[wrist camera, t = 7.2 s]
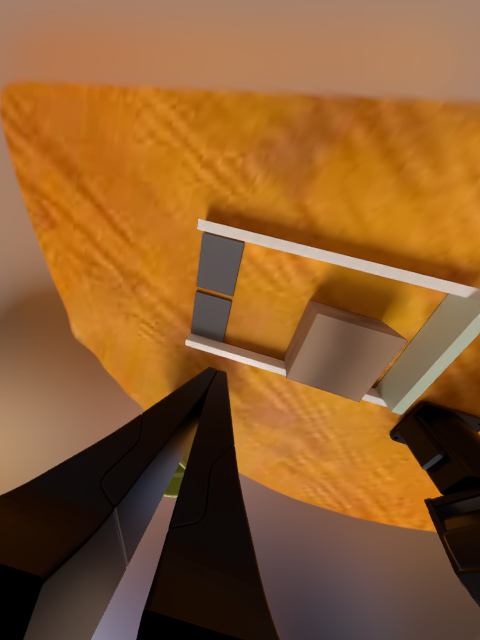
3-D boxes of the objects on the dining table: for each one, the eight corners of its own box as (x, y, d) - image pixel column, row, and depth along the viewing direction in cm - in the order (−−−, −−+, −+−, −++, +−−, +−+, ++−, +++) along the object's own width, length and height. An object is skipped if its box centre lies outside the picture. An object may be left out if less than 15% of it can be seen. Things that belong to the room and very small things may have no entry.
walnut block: (379, 320, 17) (408, 340, 13) (343, 373, 20) (359, 402, 16) (308, 299, 17) (317, 313, 14) (284, 354, 20) (286, 378, 17)
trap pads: (244, 243, 16) (244, 243, 16) (223, 341, 21) (222, 342, 21) (203, 232, 16) (202, 232, 16) (191, 331, 21) (190, 332, 21)
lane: (468, 286, 14) (514, 296, 12) (379, 396, 20) (396, 420, 17) (205, 221, 16) (190, 216, 13) (190, 338, 21) (178, 352, 19)
